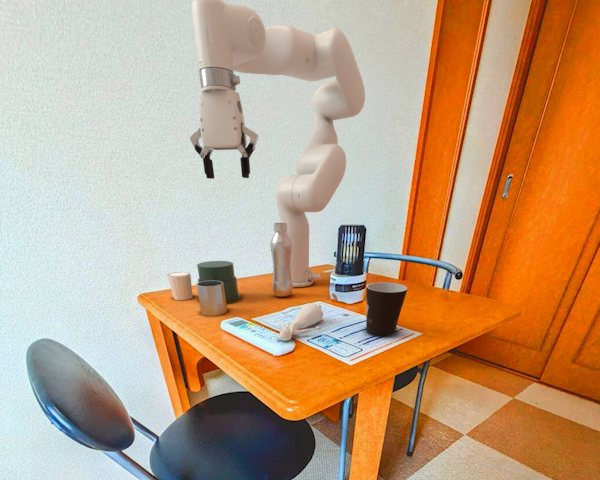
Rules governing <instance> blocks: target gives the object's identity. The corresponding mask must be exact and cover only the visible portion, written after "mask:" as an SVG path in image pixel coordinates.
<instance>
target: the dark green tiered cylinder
mask: <svg viewBox="0 0 600 480" xmlns="http://www.w3.org/2000/svg"><path fill="white" fill-rule="evenodd" d="M196 268H197V272H198V278H197V283H199V282H202V281H210V280H216V281H222V282H223V284H224V291H225V298H226V305H228V304H232V303H236V302H238V301H239V300H240V299H241V293H240V292H239V290H238V289H239V287H238V278H237V276H236V275H235V268H234V263H233V261H230V260H229V261H228V260H210V261H203V262H199V263H197V264H196Z"/></svg>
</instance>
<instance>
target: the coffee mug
mask: <svg viewBox="0 0 600 480" xmlns="http://www.w3.org/2000/svg"><path fill="white" fill-rule="evenodd" d="M365 289H366V290H365V291H366V292H365V294H366V297H365V298H366V299H365V300H366V301H365V303H366V304H365V306H366V308H365V309H366V311H365V313H366V316H365V317H366V318H365V319H366V321H365V322H366V323H365V326H366V328H365V330H366V331H365V332H367V334H369V335H370V336H374V337H379V338H381V337H383V338H385V337H391V336H394V334H395V332H396V330H397V325H398V322H399V318H400V316H401V312H402V308H403V306H404V302H405V298H406V295H407V291H408V287H407V286H406V285H403V284H400V283H395V282H387V281H386V282H385V281H384V282H383V281H382V282H381V281H380V282H371V283H368V284H366V288H365Z"/></svg>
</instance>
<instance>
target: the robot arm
mask: <svg viewBox="0 0 600 480" xmlns="http://www.w3.org/2000/svg"><path fill="white" fill-rule="evenodd" d="M190 11H191V21H192V28H193V36H194V42H195V51H196V60H197V66H198V74H199V83H200V89H201V91H200V92H199V94H198V95H199V96H198V114H199V115H198V116H199V128H198V129H197V130H195V131H194V132H193V133H192V134H191V135H190V136H189V140H190V142H191V144H192V147H194V150H195V152H196V153H197V154H198V155H199V157H200V158H201V159H202V162H203V170H204V174H205V176H206V179H210V180H211V179H212V180H214V179H215V171H214V164H213V159H211V156H212V154H213V152H214V151H232V150H234V151H235V150H238V152H240V155H241V157H240V169H241V177H242V179H250V174H251V165H250V159H251V157H252V154H253V153H254V151H255V150H256V145H257V142H258V140H259V134H258V133H256V132H255V131H253V130H252V129H250V128H249V127H247V126H246V124H245V117H244V111H243V106H242V100H241V97H240V93H239V92H237V91H236V90H237V86H238V85H241V77H240V75H236V74H235V73H234V72H237V73H242V74H253V75H267V76H285V77H291V78H293V79H297V80H298V79H299V80H302V81H307V82H318V81H322V80H327V79H329V78H334V77H335V79H336V80H334V81H329V82H326V83H324V84H322V85H321V86H319V87H318V88H317V89H316V90H315V92H314V94H313V97H312V103H311V110H312V119H313V132H312V134H311V136H310V138H309V140H308V142H307V143H306V145H305V147H304V148H303V150H302V152H300V155H299V157H298V158H297V159H298V160H297V162H296V165H295V172H296V174H289V175H285V176H284V177H283V178H281V179H279V181H278V183H277V184H276V188H275V200H276V204H277V209H278V215H279V223H286V224H287V231H286V233H287V235H288V236H289V238H290V240H291V242H292V250H291V263H290V270H291V280H292V285H293V288H304V287H309V286H311V285H313V284H314V280H315V281H321V280H322V274H321V273H319V272H312V269H311V268H310V224H309V220H308V218H307V215H306V213H319V212H322V211H323V210H325V208H326V207H327V206H328V204H329V203H330V201H331V200H332V198H333V196H334V194H335V192H336V191H337V189H338V188H339V186H340V184H341V182H342V180H343V178H344V176H345V172H346V168H347V157H346V153H345V151H344V148H343V147H341V145H339V139H338V135H337V132H336V129H335V124H334V121H337V120H343V119H348V118H354V117H355V116H358V115H359V114H360V113H361V112H362V110H363V108H364V106H365V101H366V90H365V84H364V80H363V77H362V76H361V72H360V69H359V66H358V62H357V60H356V56H355V54H354V52H353V49H352V47H351V44H350V42H349V40H348V38H347V36H346V35H345V33H344V32H343V31H342V29H341V28H338V27H333V28H330V29H327V30H325V31H322V32H320V33H317V34H313V33H309V32H306V31H303V30H300V29H298V28H296V27H293V26H290V25H288V24H277V25H271V26H268V27H265V25H264V23H263V20H262V19H261V17H260V16H259V14H258V12H256V11H255V10H254V9H252V8H250V7H248V6H245V5H239V4H232V3H228V2H224V1H223V0H192V1H191V5H190ZM247 136H248V138H249V143H247V141H248V140H247V139H248V138H247ZM200 139H201V142H202V145H203V147H202V146H201V144H200Z"/></svg>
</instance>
